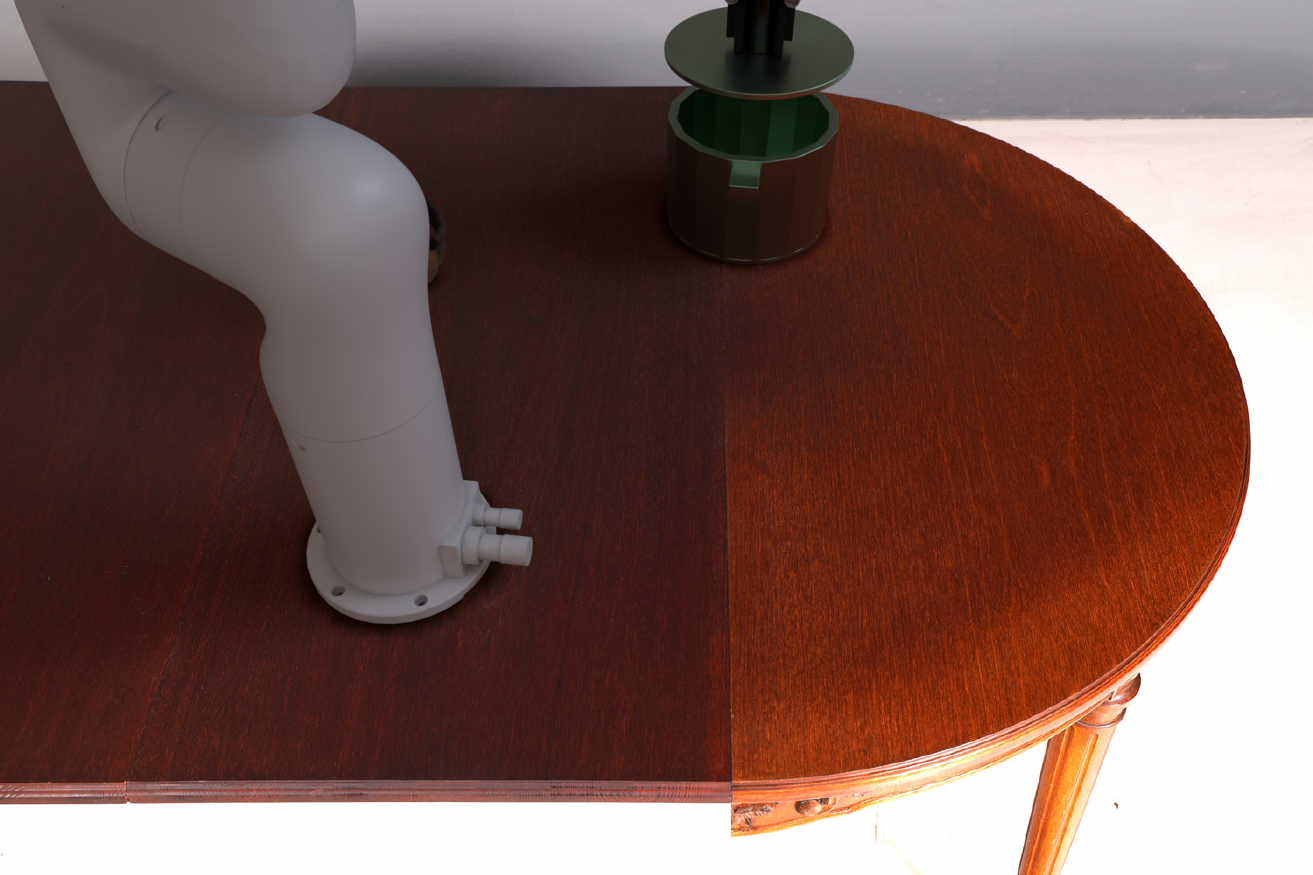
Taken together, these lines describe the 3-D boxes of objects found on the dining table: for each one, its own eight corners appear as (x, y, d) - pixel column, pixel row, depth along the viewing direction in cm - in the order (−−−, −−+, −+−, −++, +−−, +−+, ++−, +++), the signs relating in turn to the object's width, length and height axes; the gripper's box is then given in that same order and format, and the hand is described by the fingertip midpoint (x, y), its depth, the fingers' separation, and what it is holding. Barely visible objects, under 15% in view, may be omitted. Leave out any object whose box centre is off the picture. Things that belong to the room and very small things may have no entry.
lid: (853, 22, 91) (864, -55, 86) (851, 114, 81) (863, 31, 76) (676, 12, 93) (677, -65, 88) (651, 100, 82) (651, 18, 77)
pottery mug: (368, 230, 97) (399, 163, 92) (442, 297, 97) (478, 234, 92) (275, 272, 88) (304, 200, 83) (357, 347, 88) (392, 280, 83)
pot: (826, 165, 104) (840, 65, 97) (820, 290, 91) (835, 186, 83) (681, 154, 106) (683, 55, 98) (654, 276, 92) (653, 172, 84)
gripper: (653, -195, 71) (655, 62, 84) (896, -185, 69) (858, 75, 83) (668, -227, 76) (667, 20, 89) (894, -219, 74) (858, 32, 88)
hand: (759, 45), depth 86 cm, fingers closed on lid, 2 cm apart
